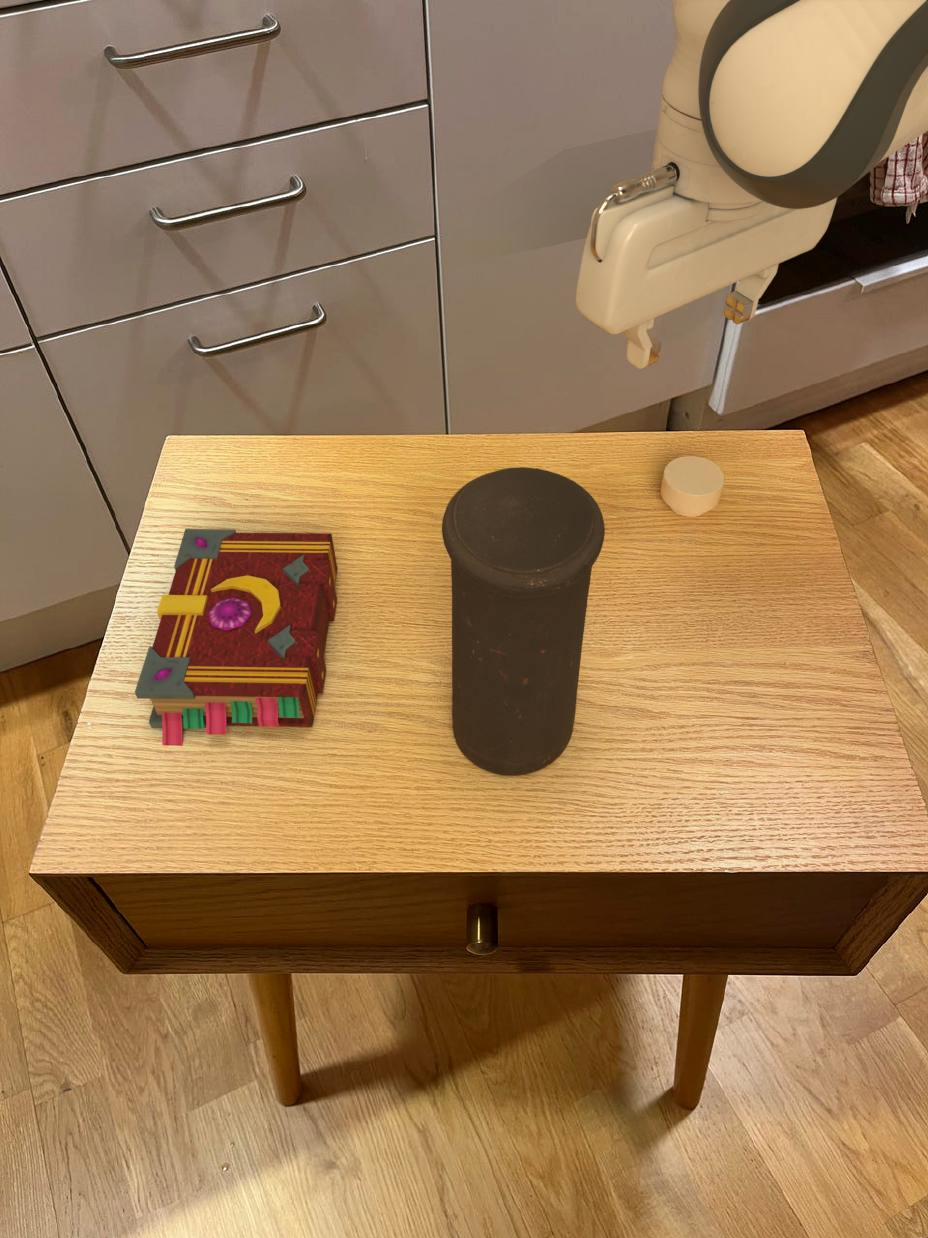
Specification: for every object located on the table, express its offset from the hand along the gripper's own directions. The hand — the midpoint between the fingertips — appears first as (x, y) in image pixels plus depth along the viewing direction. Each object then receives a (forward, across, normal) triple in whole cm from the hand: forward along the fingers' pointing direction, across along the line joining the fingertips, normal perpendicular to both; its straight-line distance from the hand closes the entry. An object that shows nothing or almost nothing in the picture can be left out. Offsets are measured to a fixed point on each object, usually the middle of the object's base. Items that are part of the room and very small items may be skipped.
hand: (691, 339), depth 70 cm
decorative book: (+14, -36, +4) cm, 39 cm away
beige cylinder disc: (+14, 0, -3) cm, 14 cm away
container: (+14, -25, -12) cm, 31 cm away
